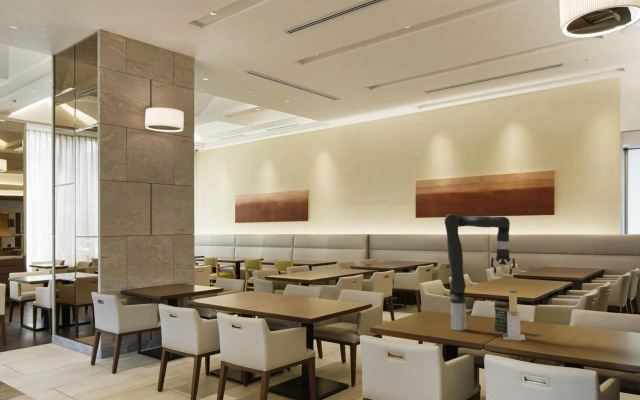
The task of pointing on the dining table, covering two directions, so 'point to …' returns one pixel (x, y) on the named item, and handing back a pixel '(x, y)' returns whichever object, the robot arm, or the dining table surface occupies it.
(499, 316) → the coffee jar
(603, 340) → the dining table surface
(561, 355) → the dining table surface
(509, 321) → the stand
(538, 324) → the dining table surface
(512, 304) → the post
